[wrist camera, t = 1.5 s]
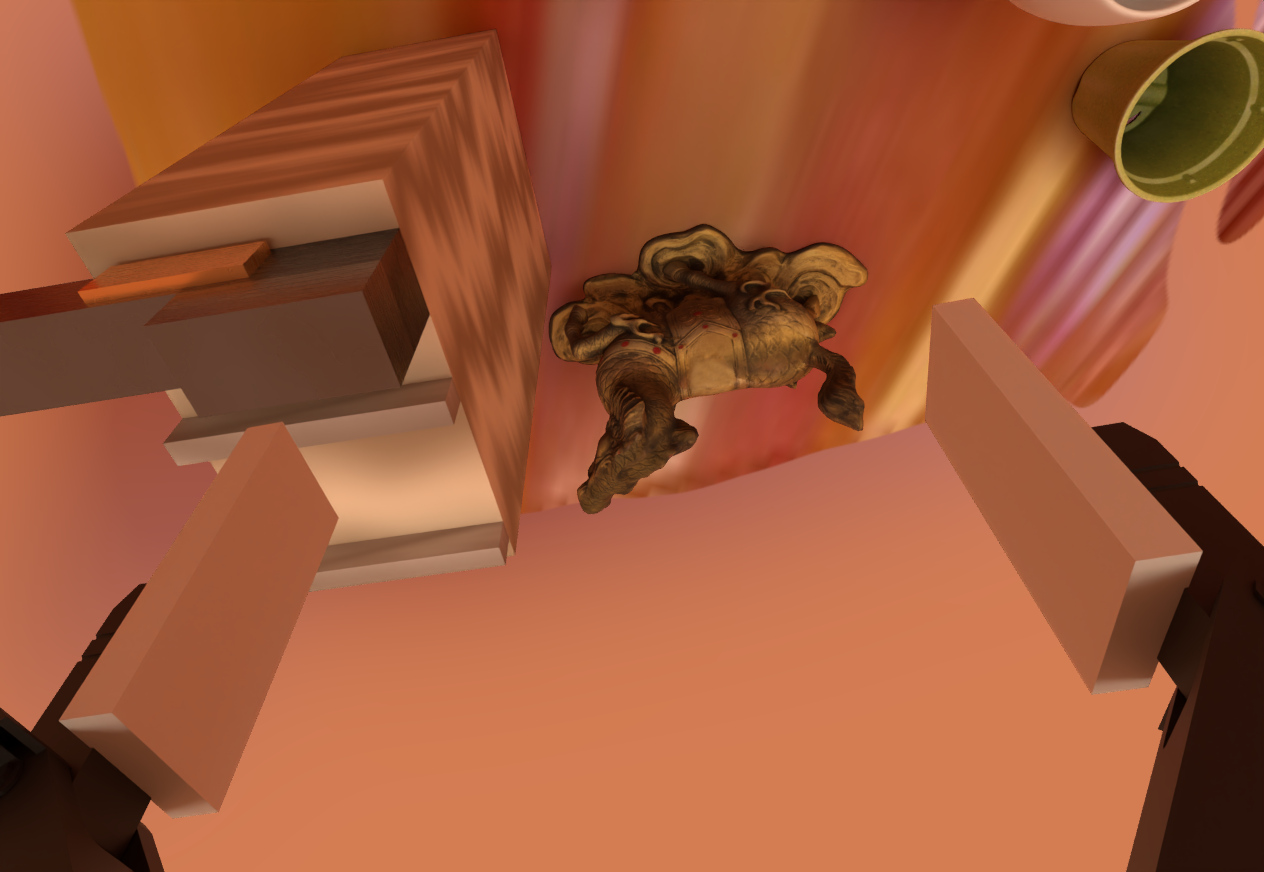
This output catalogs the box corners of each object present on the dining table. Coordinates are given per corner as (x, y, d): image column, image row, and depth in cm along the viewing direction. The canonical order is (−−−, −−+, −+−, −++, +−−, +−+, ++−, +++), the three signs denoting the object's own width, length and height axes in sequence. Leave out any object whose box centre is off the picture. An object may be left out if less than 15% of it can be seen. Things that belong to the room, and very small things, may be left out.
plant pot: (1020, 86, 49) (1090, 118, 42) (1163, -27, 46) (1265, -13, 39) (1077, 188, 53) (1149, 233, 46) (1211, 93, 50) (1311, 125, 43)
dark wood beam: (-150, 306, 24) (-285, 381, 20) (395, 215, 22) (355, 277, 19) (-73, 393, 26) (-184, 476, 22) (430, 314, 25) (400, 387, 21)
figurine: (527, 257, 55) (497, 410, 39) (865, 191, 53) (984, 324, 37) (568, 398, 63) (557, 576, 46) (865, 345, 61) (963, 512, 44)
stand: (341, 57, 47) (34, 252, 21) (496, 28, 46) (369, 195, 21) (422, 287, 56) (276, 613, 31) (551, 266, 55) (511, 581, 30)
